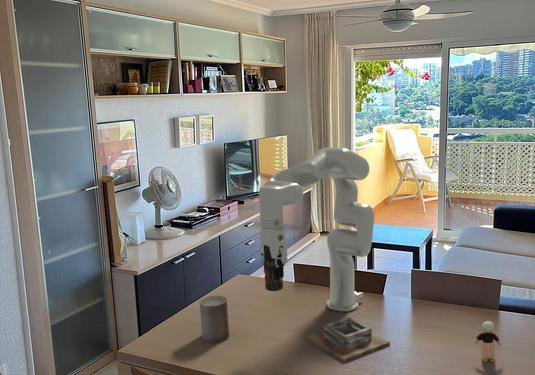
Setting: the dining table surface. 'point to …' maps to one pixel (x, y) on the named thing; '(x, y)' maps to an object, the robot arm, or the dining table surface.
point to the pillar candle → (214, 318)
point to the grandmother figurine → (488, 342)
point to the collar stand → (347, 339)
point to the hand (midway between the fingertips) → (273, 274)
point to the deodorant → (271, 272)
